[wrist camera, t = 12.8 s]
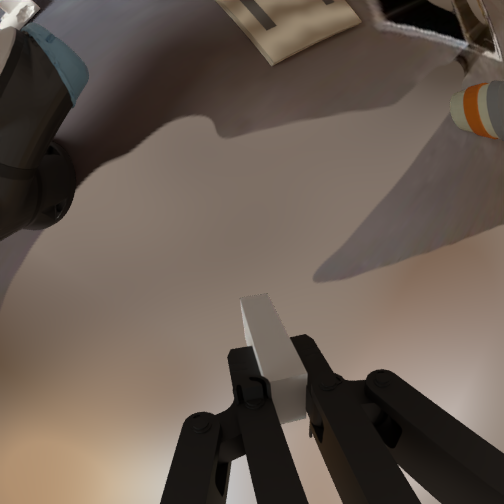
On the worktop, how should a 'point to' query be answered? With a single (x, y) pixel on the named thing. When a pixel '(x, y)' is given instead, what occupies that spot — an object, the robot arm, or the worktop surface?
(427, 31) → the worktop surface
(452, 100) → the reusable coffee cup
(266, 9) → the switch board
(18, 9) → the plastic part
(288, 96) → the worktop surface
